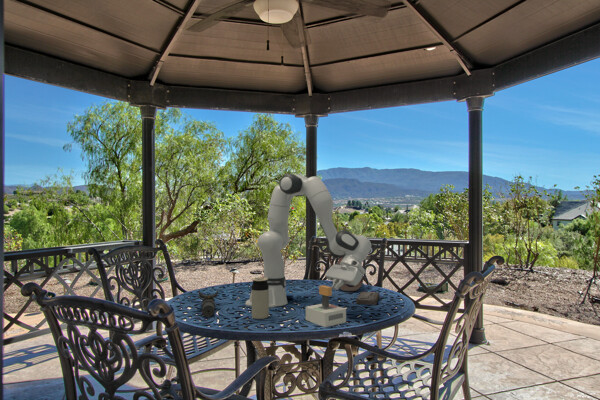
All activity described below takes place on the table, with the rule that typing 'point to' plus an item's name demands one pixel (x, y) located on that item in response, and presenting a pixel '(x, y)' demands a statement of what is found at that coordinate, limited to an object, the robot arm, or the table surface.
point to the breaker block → (326, 315)
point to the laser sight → (208, 304)
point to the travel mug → (260, 298)
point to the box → (368, 298)
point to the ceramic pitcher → (347, 286)
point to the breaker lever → (325, 294)
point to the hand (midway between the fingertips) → (334, 288)
